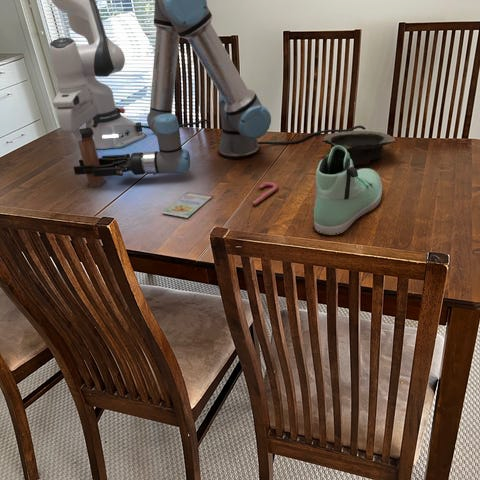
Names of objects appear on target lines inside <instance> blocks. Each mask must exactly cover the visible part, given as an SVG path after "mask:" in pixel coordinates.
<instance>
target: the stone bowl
mask: <svg viewBox="0 0 480 480" xmlns="http://www.w3.org/2000/svg"><path fill="white" fill-rule="evenodd" d="M321 142H322V143H325V144H328V145H329V146H330V148H331V149H332V148H333V147H334V146H342V147H344V148H345V149H346V150H347V152H348V153H349V156H350V159H352V161H353V166H354V167H356V166H359V165H361V166H364V165H368V164H369V163H370V161H371V160H373V161H374V160H375V161H377V160H381V158H382V155H383V149H384V146H387V145H391V144H392V143H393V142H396V138H395V137H393V136H391V135H390V134H388V133H385V132H381V131H373V130H352V131H348V132H345V131H344V132H332V133H330V134H325V135H324V136H323V138H322V140H321ZM331 149H330V150H331Z"/></svg>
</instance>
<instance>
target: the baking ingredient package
mask: <svg viewBox="0 0 480 480" xmlns="http://www.w3.org/2000/svg"><path fill="white" fill-rule="evenodd" d="M211 198H212V196H209V195H204V194H197V193H192V192H187V193H186V194H184V195H183V196H182V197H181V198H180V199H178V200H177V201H175V203H173V204H172V205H170V206H169V207H168V208H167V209H165V210H164V211H163V212H162V214H165V215H168V216H169V215H171V216H175V217H180V218H189V217H190V216H191V215H192V214H194V213H195V212H196V211H197V210H198V209H199V208H201V207H202V206H203V205H204V204H205V203H207V202H208V201H209V200H210V199H211Z"/></svg>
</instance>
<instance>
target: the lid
mask: <svg viewBox="0 0 480 480" xmlns="http://www.w3.org/2000/svg"><path fill="white" fill-rule="evenodd" d="M79 132H80V133H81V134H83V139H84V138H89V137H91V136H93V134H94V133H93V130H92V129H91V128H86V127H85V128H80V131H79ZM74 136H75V135H74ZM75 138H76V136H75Z"/></svg>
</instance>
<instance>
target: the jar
mask: <svg viewBox="0 0 480 480" xmlns="http://www.w3.org/2000/svg"><path fill="white" fill-rule="evenodd" d="M77 143H78V147H79V151H80V155H81V160H83V163H84V166H91V165H94V167H95V166H100V163H99V158H100V157H99V154H98V151H97V148H96V146H95V142H94V138H93V136H91V137H89V138H84V139H83V140H82V141H77ZM86 177H87V181H88V185H89V187H94V188H96V187H101V186H102V185H104V184H105V179H104V176H99V177H94V174H86Z"/></svg>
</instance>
